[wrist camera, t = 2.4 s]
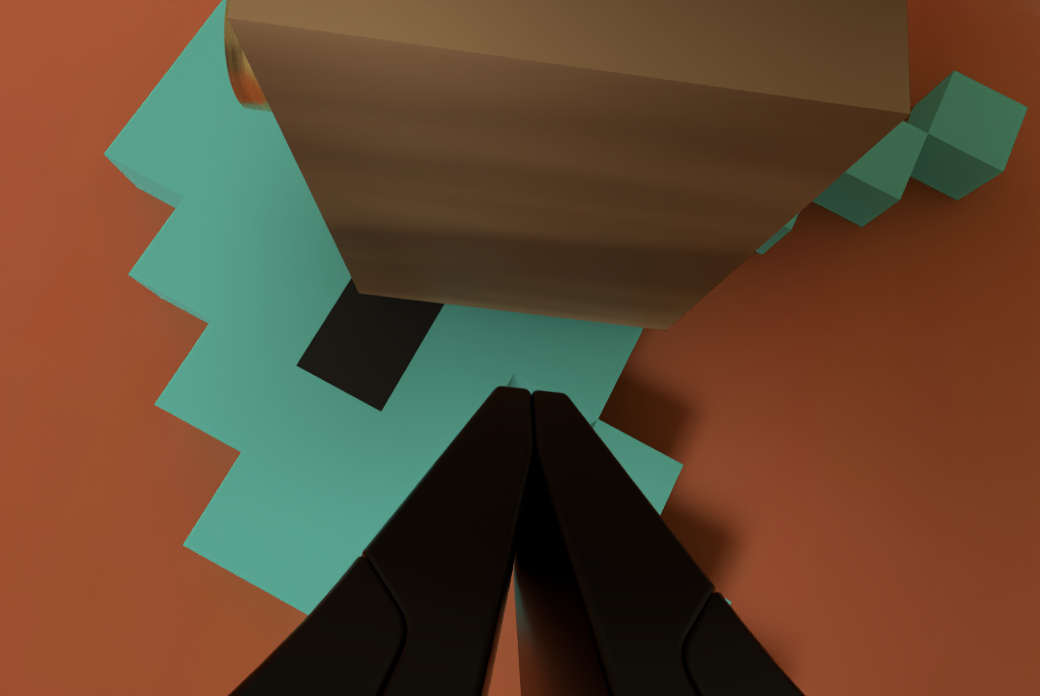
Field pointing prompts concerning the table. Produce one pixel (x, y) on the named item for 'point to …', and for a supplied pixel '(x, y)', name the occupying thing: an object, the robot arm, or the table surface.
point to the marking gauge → (567, 137)
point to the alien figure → (390, 322)
